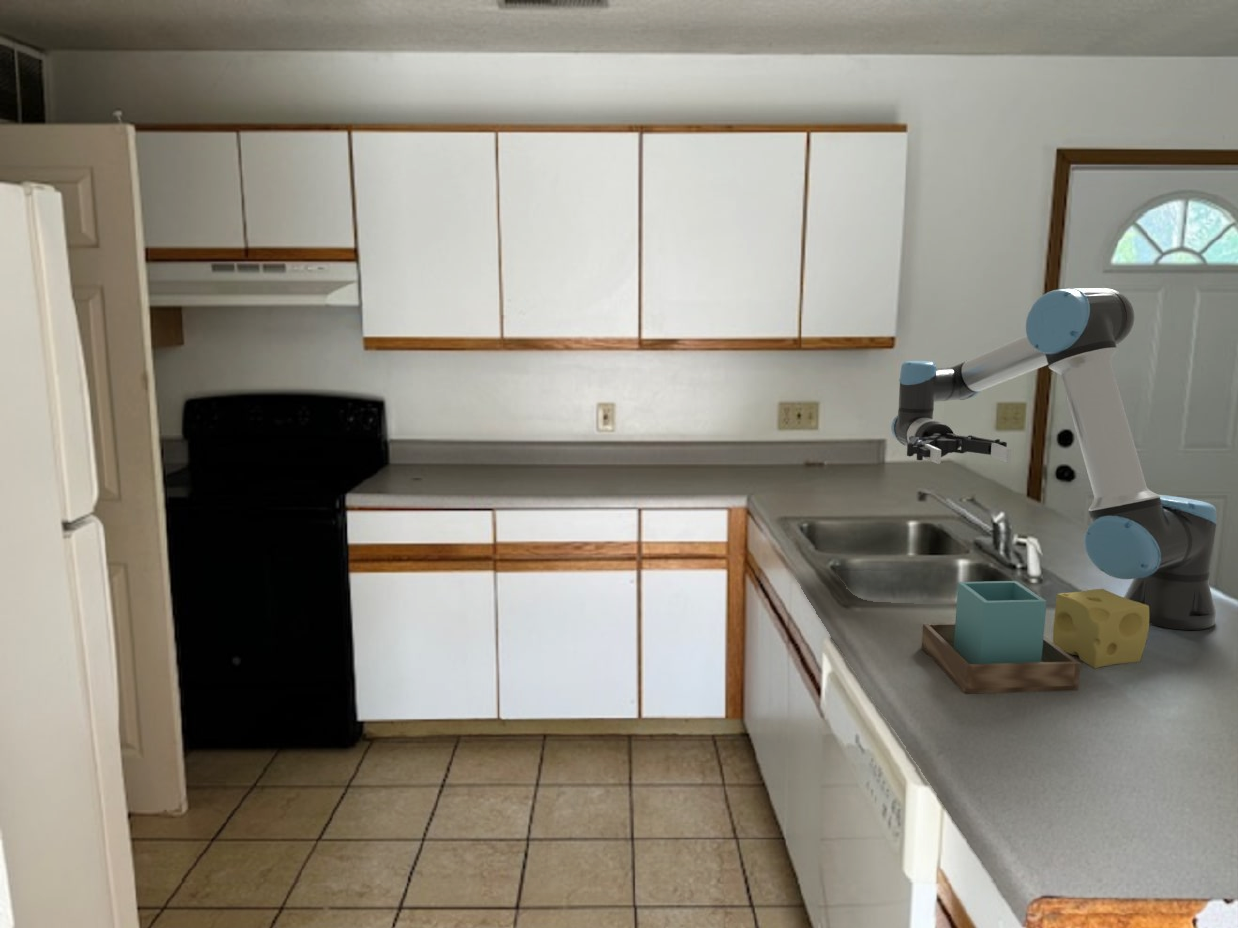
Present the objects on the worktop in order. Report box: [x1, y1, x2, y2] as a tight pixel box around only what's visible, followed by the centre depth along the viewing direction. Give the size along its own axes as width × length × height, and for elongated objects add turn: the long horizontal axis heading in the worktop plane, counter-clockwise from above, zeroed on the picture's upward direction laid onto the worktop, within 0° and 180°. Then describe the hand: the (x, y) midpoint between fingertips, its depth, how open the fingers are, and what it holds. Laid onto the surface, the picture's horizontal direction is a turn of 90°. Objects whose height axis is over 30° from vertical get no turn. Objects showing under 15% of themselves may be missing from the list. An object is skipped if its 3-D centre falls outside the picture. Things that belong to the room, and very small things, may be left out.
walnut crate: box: [921, 622, 1081, 694], centre depth 148 cm, size 18×18×4 cm
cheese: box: [1052, 588, 1150, 669], centre depth 154 cm, size 10×11×10 cm
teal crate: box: [954, 580, 1048, 664], centre depth 147 cm, size 10×10×12 cm
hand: (973, 456), depth 173 cm, fingers open, 13 cm apart
